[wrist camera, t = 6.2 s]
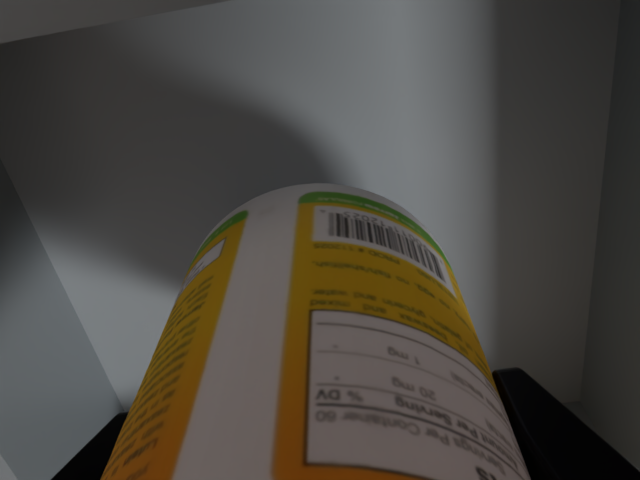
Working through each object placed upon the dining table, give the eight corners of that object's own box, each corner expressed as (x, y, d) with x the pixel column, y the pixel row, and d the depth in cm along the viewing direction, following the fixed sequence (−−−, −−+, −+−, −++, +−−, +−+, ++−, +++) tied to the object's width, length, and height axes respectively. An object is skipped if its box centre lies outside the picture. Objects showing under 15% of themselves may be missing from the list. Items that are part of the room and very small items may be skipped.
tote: (666, -162, 9) (955, -249, 5) (597, 396, 16) (696, 562, 12) (-98, -11, 11) (-380, 22, 7) (133, 446, 18) (69, 611, 13)
